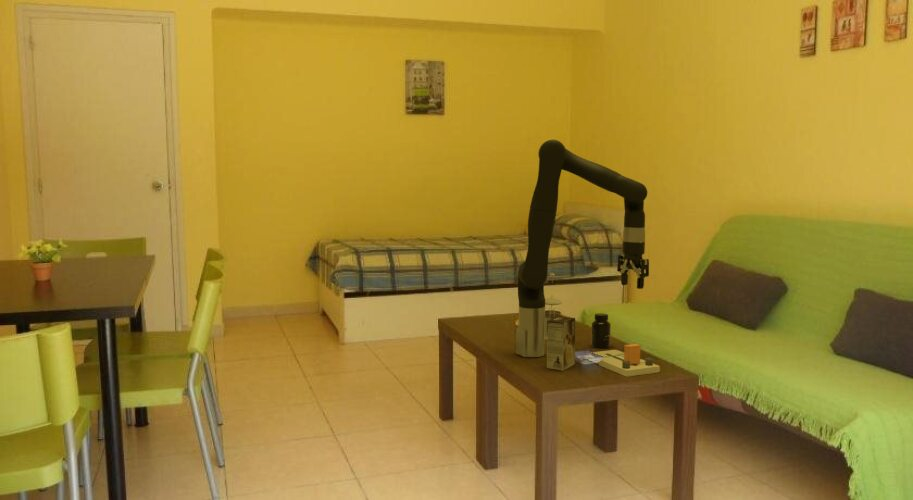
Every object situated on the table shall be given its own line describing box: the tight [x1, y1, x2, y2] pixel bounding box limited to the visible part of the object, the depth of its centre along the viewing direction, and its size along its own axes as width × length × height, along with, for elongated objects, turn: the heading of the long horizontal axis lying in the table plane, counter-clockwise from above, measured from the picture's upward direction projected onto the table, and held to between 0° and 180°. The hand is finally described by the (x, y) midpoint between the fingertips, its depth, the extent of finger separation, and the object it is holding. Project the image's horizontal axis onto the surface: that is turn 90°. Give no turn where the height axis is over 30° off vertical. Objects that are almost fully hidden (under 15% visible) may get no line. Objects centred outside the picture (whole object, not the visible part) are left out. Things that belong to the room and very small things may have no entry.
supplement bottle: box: [590, 312, 611, 349], centre depth 284 cm, size 7×7×12 cm
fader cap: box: [623, 343, 641, 365], centre depth 252 cm, size 4×3×6 cm, turn 114°
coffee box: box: [546, 315, 576, 372], centre depth 256 cm, size 9×6×16 cm
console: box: [593, 349, 661, 378], centre depth 258 cm, size 13×24×4 cm, turn 24°
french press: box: [545, 272, 563, 340], centre depth 297 cm, size 10×12×25 cm
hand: (632, 286), depth 268 cm, fingers open, 8 cm apart
